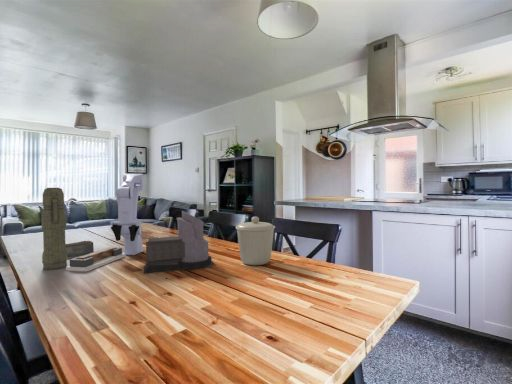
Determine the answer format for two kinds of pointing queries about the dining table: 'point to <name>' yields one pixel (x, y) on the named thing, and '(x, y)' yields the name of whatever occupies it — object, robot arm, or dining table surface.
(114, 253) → the end cap cradle
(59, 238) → the olive stone pillar
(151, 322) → the dining table surface
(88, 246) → the dark grey stone block
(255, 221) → the canister
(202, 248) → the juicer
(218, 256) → the dining table surface
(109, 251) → the walnut slat
